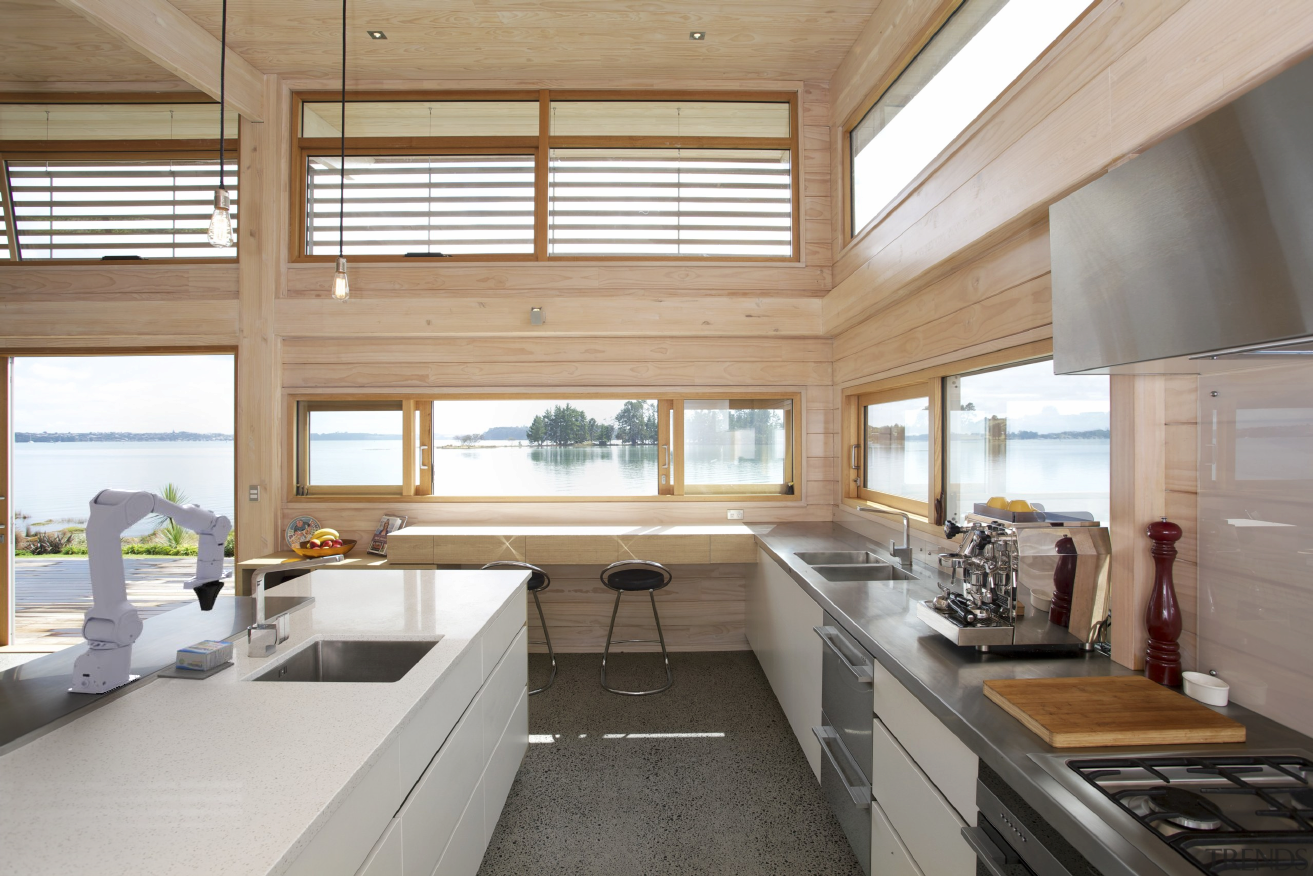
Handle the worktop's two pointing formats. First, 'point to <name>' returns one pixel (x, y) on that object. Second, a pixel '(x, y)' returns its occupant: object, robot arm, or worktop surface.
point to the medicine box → (204, 655)
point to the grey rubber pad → (194, 672)
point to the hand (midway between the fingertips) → (206, 610)
